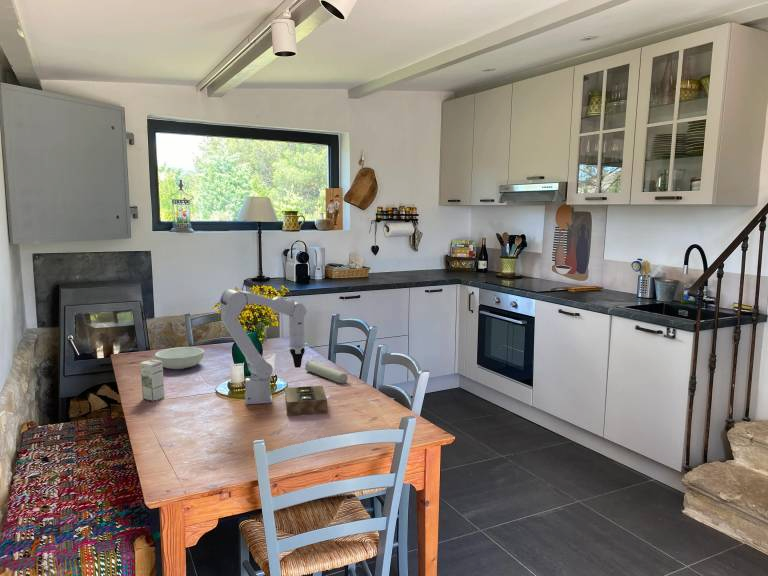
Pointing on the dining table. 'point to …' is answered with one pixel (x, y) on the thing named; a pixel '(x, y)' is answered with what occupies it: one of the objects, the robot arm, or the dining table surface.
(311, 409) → the brown flat block
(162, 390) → the syrup box
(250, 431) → the dining table surface
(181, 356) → the serving bowl
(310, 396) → the steel peg
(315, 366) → the tube
